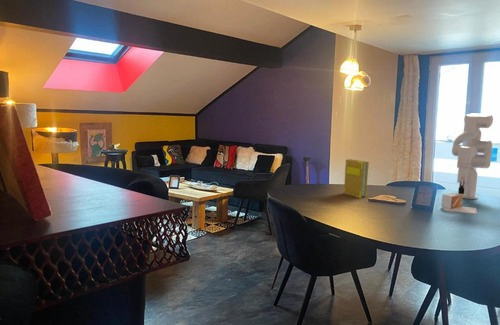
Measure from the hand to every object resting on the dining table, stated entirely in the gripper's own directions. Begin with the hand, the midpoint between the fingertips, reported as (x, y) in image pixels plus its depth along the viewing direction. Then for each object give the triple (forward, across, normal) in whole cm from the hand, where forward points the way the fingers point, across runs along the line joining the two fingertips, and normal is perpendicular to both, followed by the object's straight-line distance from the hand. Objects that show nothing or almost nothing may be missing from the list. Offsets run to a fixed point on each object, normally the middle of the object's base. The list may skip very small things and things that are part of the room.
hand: (461, 193), depth 248 cm
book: (+9, +6, -67) cm, 68 cm away
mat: (+8, +11, 0) cm, 14 cm away
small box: (+4, +2, -2) cm, 5 cm away
